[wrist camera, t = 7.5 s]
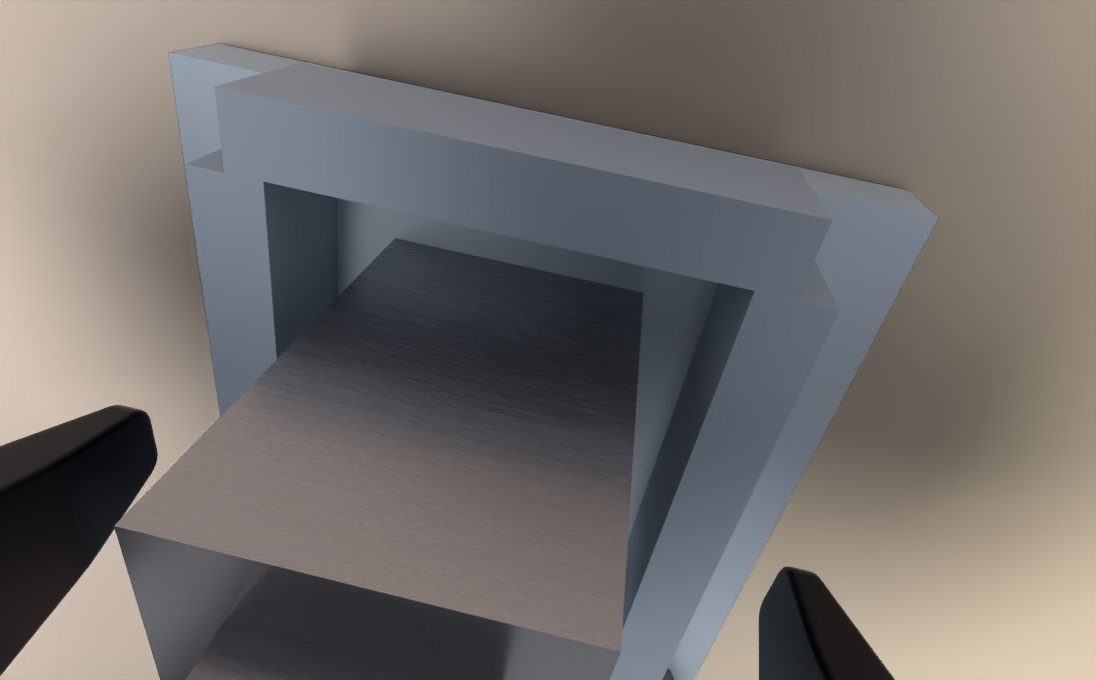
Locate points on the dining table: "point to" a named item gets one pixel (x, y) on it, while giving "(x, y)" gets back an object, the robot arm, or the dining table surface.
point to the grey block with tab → (408, 489)
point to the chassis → (572, 250)
